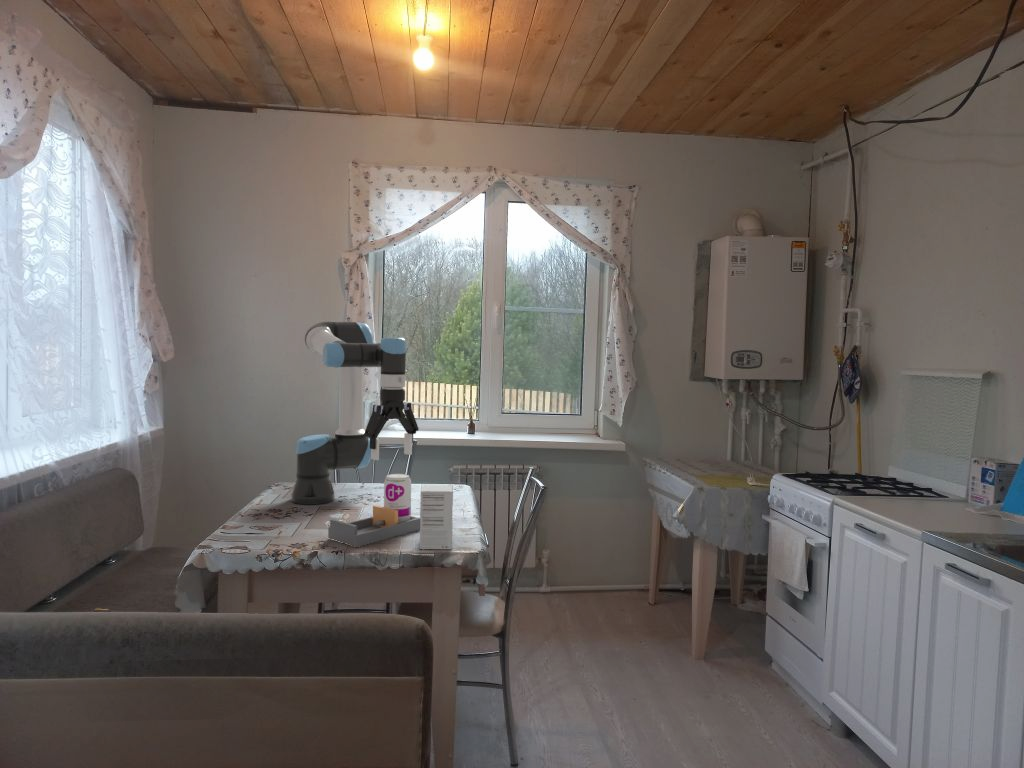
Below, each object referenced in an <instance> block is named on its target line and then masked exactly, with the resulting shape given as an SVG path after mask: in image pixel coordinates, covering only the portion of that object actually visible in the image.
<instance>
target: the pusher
mask: <svg viewBox="0 0 1024 768" xmlns="http://www.w3.org/2000/svg"><path fill="white" fill-rule="evenodd" d="M372 517H373V525H375V527H382V528H383V527H387V526H390V525H394V524H398V510H394V509H390V508H385V507H384V506H381V505H377V504H376V505H372Z"/></svg>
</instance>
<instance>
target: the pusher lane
mask: <svg viewBox="0 0 1024 768" xmlns="http://www.w3.org/2000/svg"><path fill="white" fill-rule="evenodd" d="M327 529H328V530H327V531H328V532H327V533H328V534H327V535H328V536H327V537H328V538H330V539H334V540H337V541H340V542H343V543H347V544H350V545H352V546H355V547H358V548H360V547H359V546H361V547H364V546H363V545H365V546H367V545H366V544H368V545H371V544H375V543H378V542H381V541H380V540H382V541H385V540H388V538H389V539H392V538H395V536H396V537H399V536H402V535H405V534H409V533H413V532H416V530H417V531H420V530H419V529H420V516H415V515H411V520H409V521H405V522H402V523H398V524H394V525H390V526H387V527H383V528H382V527H375V525H373V516H370V517H366V518H365V517H364V518H363V519H358V520H353V521H350V522H345V521H342V520H338V519H334V518H332V519H329V526H328V528H327ZM328 538H327V539H328ZM384 539H385V540H384ZM377 541H378V542H377ZM374 542H375V543H374ZM370 543H371V544H370ZM355 547H354V548H355Z"/></svg>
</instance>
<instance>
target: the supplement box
mask: <svg viewBox="0 0 1024 768" xmlns="http://www.w3.org/2000/svg"><path fill="white" fill-rule="evenodd" d="M419 505H420V506H419V510H420V511H419V513H420V515H419V517H420V530H419V550H420V549H451V548H452V549H453V505H454V484H447V483H445V484H442V483H441V484H438V483H437V484H436V483H435V484H429V483H428V484H427V483H426V484H424V483H423V484H422V486H421V489H420V504H419Z"/></svg>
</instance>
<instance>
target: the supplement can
mask: <svg viewBox="0 0 1024 768" xmlns="http://www.w3.org/2000/svg"><path fill="white" fill-rule="evenodd" d="M383 481H384V483H383V485H384V486H383V489H384V490H383V507H385V508H390V509H394V510H398V523H402V522H405V521H409V520H411V513H412V511H411V509H412V508H411V507H412V479H411V478H410V475H409V474H406V473H389V474H387V475H386V476H385V479H384V480H383Z"/></svg>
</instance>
